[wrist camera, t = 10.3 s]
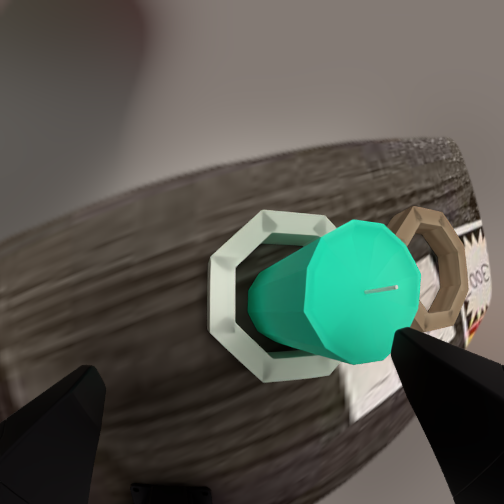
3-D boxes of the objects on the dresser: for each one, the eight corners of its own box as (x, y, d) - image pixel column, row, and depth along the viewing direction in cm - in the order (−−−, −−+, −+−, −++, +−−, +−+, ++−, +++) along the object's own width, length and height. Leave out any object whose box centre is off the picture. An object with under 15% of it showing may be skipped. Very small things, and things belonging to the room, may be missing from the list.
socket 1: (347, 363, 20) (368, 368, 17) (207, 374, 18) (210, 384, 15) (342, 230, 23) (362, 219, 20) (209, 221, 20) (212, 206, 17)
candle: (312, 256, 22) (423, 201, 10) (329, 330, 21) (453, 336, 9) (238, 271, 20) (303, 215, 9) (256, 352, 19) (343, 398, 8)
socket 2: (449, 322, 24) (469, 321, 21) (375, 335, 21) (398, 337, 18) (440, 224, 26) (459, 216, 23) (367, 212, 24) (387, 200, 21)
